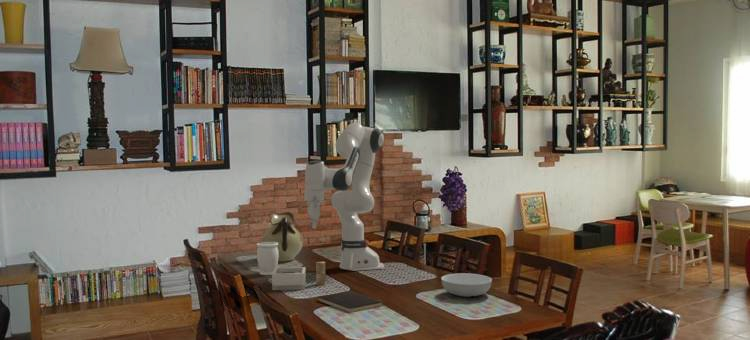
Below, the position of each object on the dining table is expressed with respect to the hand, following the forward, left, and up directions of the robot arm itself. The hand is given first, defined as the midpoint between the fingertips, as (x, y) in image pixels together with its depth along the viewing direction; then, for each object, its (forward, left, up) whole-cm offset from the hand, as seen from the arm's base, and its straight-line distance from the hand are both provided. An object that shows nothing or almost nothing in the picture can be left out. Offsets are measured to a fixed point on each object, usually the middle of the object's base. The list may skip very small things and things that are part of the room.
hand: (313, 227), depth 294 cm
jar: (+23, -26, -26) cm, 43 cm away
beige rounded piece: (+18, -62, -26) cm, 70 cm away
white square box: (+11, +2, -26) cm, 28 cm away
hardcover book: (-15, +35, -27) cm, 46 cm away
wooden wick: (-3, 0, -26) cm, 26 cm away
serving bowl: (-64, +26, -26) cm, 74 cm away
